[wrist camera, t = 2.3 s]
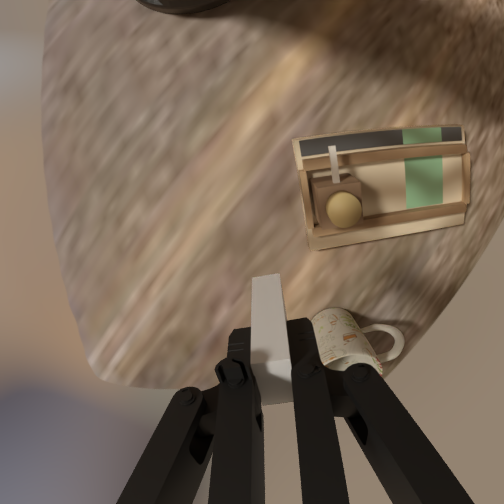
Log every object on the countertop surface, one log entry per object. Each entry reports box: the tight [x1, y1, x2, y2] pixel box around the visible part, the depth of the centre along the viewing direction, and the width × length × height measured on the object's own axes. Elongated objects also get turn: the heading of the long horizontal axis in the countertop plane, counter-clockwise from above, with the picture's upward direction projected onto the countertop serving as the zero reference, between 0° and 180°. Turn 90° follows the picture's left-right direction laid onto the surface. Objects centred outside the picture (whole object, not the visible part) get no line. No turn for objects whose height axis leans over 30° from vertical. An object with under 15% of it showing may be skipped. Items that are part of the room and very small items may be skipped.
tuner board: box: [292, 124, 470, 251], centre depth 31 cm, size 12×20×2 cm, turn 101°
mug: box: [311, 308, 405, 376], centre depth 36 cm, size 8×12×10 cm, turn 106°
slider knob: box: [310, 145, 363, 230], centre depth 28 cm, size 7×4×6 cm, turn 11°
